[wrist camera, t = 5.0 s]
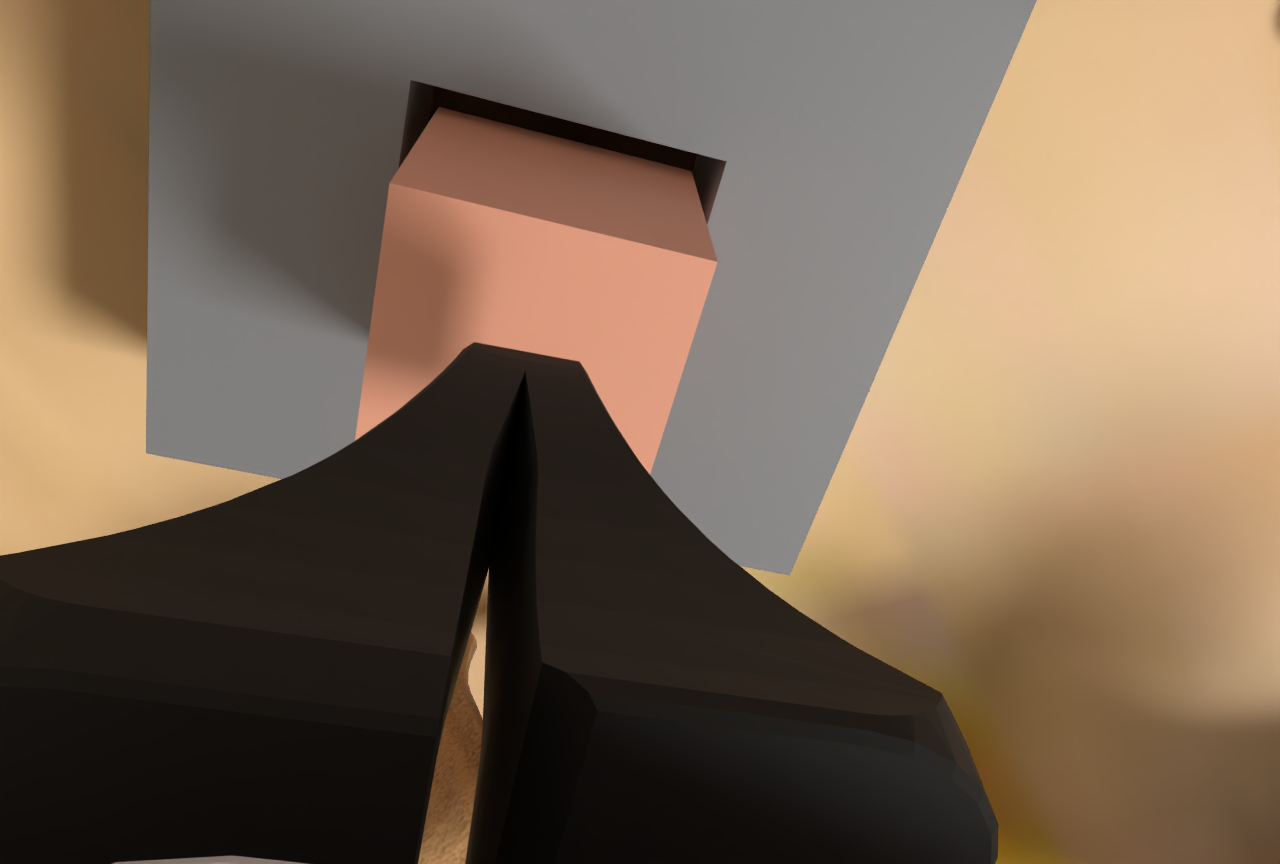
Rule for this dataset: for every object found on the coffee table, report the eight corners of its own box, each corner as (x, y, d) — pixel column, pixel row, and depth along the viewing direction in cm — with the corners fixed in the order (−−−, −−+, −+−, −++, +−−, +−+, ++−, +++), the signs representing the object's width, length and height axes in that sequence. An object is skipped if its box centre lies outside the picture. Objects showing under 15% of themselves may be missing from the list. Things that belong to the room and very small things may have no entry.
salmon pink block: (691, 170, 15) (718, 261, 12) (628, 388, 17) (635, 520, 14) (438, 106, 15) (389, 182, 11) (402, 339, 17) (351, 465, 13)
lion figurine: (317, 879, 28) (209, 1268, 20) (149, 797, 26) (-42, 1194, 18) (675, 582, 23) (713, 951, 15) (499, 452, 21) (440, 801, 13)
